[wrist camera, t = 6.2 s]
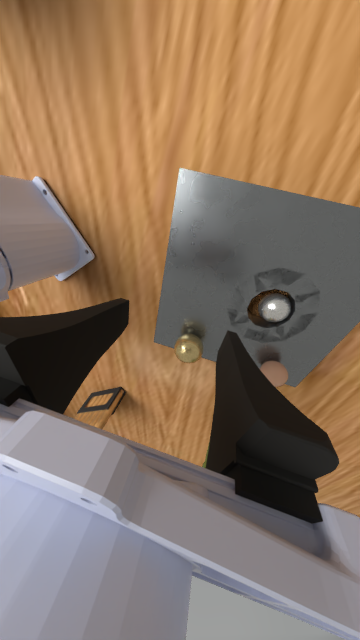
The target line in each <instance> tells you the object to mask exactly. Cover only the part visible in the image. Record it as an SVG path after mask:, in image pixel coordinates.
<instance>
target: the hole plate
mask: <svg viewBox="0 0 360 640" xmlns="http://www.w3.org/2000/svg"><path fill="white" fill-rule="evenodd" d="M272 289H278V290H281V291H285V292H288V299H289V300H290V302H291V312H290V314H289V315H288V316H287V317H286V318H285V319H284V320H282V321H279V322H269V321H266V320H264V319H263V318H262V317H259V316H256V315H252V314H251V313H250V312H249V310H248V309H247V308H248V305H249V303H250V301H251V299H252V298H254V297H255V296H257V295H258V294H259V293H261V292H262V291H267V290H272ZM359 322H360V208H359V207H354V206H350V205H345V204H341V203H336V202H332V201H327V200H323V199H318V198H314V197H309V196H305V195H300V194H296V193H291V192H287V191H282V190H278V189H273V188H269V187H264V186H260V185H255V184H250V183H246V182H241V181H237V180H232V179H228V178H223V177H219V176H214V175H210V174H205V173H201V172H196V171H192V170H187V169H183V168H180V169H179V175H178V182H177V189H176V195H175V202H174V209H173V216H172V222H171V229H170V236H169V243H168V249H167V256H166V263H165V270H164V276H163V283H162V290H161V297H160V303H159V310H158V317H157V324H156V330H155V337H154V342H155V343H158V344H162V345H165V346H168V347H171V348H174V345H175V342H176V340H177V339H178V338H179V337H180V336H182V335H184V334H194V335H196V336H197V337H199V338H200V340H201V341H202V343H203V354H202V356H201V357H202V358H205V359H208V360H212V361H215V362H216V360H217V354H218V350H219V348H220V346H221V344H222V341H223V339H224V337H225V335H226V333H227V330H229V331H232V332H235V333H237V335H238V336H239V338H240V340H241V342H242V343H243V345H244V347H245V348H246V350H247V352H248V353H249V355H250V356H251V358H252V359H253V361H254V362H255V364H256V365H257V366H258V368H259V369H260V367H261V365H262V364H263V363H264V362H266V361H271V360H273V361H277V362H280V363H281V364H283V365H284V366H285V368H286V369H287V371H288V380H287V382H286V383H285V384H286V385H290V386H293V387H296V386H297V385H298V384H299V383H300V382H301V381H302V380H303V379H304V378H305V377H306V376H307V375H308V374H309V373H310V372H311V371H312V370H313V369H314V368H315V367H316V366H317V365H318V364H319V362H320V361H321V360H322V359H323V358H324V357H325V356H326V355H327V354H328V353H329V352H330V351H331V350H332V349H333V348H334V347H335V346H336V345H337V344H338V343H339V342H340V341H341V340H342V339H343V338H344V337H345V336H346V335H347V334H348V333H349V332H350V331H351V330H352V329H353V328H354V327H355V326H356V325H357V324H358V323H359Z"/></svg>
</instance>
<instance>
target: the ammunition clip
mask: <svg viewBox="0 0 360 640" xmlns="http://www.w3.org/2000/svg"><path fill="white" fill-rule="evenodd" d="M125 393H126V392H125V391H124V390H123V388H122V387H118V388H113V389H108V390H104V391H99V392H94V393H91V395H90V396H89V397H88V399H87V400H86V401H85V403H84V404H83V406H82V407H81V408H80V410H79V411H78V412H77V413H78V414H77V416H76V417H75V418H74V419H76V420H78V421H81V422H84V423H86V424H89V425H92V426H94V427H97V428H100V429H103V427H104V426H105V424H106V423H107V421H108V419H109V417H110V416H111V415H112V414H114V412H115V410H116V409H117V407H118V405H119V404H120V402H121V400H122V399H123V397H124V395H125Z"/></svg>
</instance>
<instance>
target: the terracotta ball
mask: <svg viewBox="0 0 360 640" xmlns="http://www.w3.org/2000/svg"><path fill="white" fill-rule="evenodd" d="M260 370H261V372H262V373H263V374H264V375H265V376H266V378H267V379H268V380H269V381H270V382H271V383H272V384H273V386H274V387H279V386H282V385H284V384H285V383H286V382H287V380H288V371H287V369H286V368H285V366H284V365H283V364H281V363H280V362H277V361H273V360H271V361H266V362H264V363H263V364H262V365H261V367H260Z"/></svg>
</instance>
